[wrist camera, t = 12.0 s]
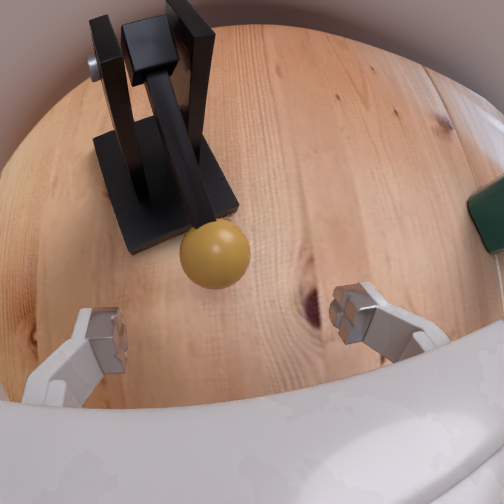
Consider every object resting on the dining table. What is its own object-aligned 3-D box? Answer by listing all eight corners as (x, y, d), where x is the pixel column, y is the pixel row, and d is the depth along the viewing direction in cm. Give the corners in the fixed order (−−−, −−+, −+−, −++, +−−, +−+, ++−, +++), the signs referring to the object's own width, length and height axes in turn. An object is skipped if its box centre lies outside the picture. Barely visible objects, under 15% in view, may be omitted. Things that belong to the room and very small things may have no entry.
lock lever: (243, 261, 18) (270, 280, 15) (188, 287, 17) (204, 312, 14) (170, 35, 13) (182, 5, 10) (107, 52, 12) (106, 23, 9)
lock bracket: (237, 211, 24) (295, 71, 10) (131, 255, 22) (60, 140, 8) (186, 113, 26) (198, -27, 12) (95, 146, 23) (51, 11, 9)
